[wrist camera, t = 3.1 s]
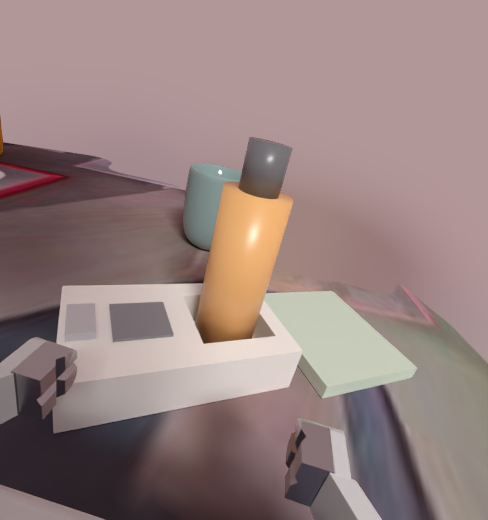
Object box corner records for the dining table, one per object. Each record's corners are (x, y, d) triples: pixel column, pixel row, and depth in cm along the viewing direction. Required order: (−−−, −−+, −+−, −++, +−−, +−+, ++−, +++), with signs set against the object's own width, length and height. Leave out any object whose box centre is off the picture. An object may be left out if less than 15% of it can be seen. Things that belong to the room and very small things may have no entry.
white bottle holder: (53, 433, 17) (51, 377, 15) (62, 325, 24) (62, 278, 22) (288, 386, 24) (305, 344, 22) (241, 313, 31) (251, 276, 29)
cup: (167, 235, 43) (178, 161, 39) (211, 230, 49) (225, 164, 45) (202, 261, 39) (218, 180, 35) (246, 252, 44) (265, 181, 40)
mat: (253, 303, 33) (256, 293, 32) (328, 299, 37) (332, 291, 37) (321, 398, 23) (327, 386, 23) (411, 378, 28) (417, 367, 27)
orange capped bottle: (185, 325, 26) (222, 129, 20) (236, 321, 28) (284, 142, 22) (201, 365, 22) (253, 142, 16) (258, 357, 24) (323, 157, 18)
